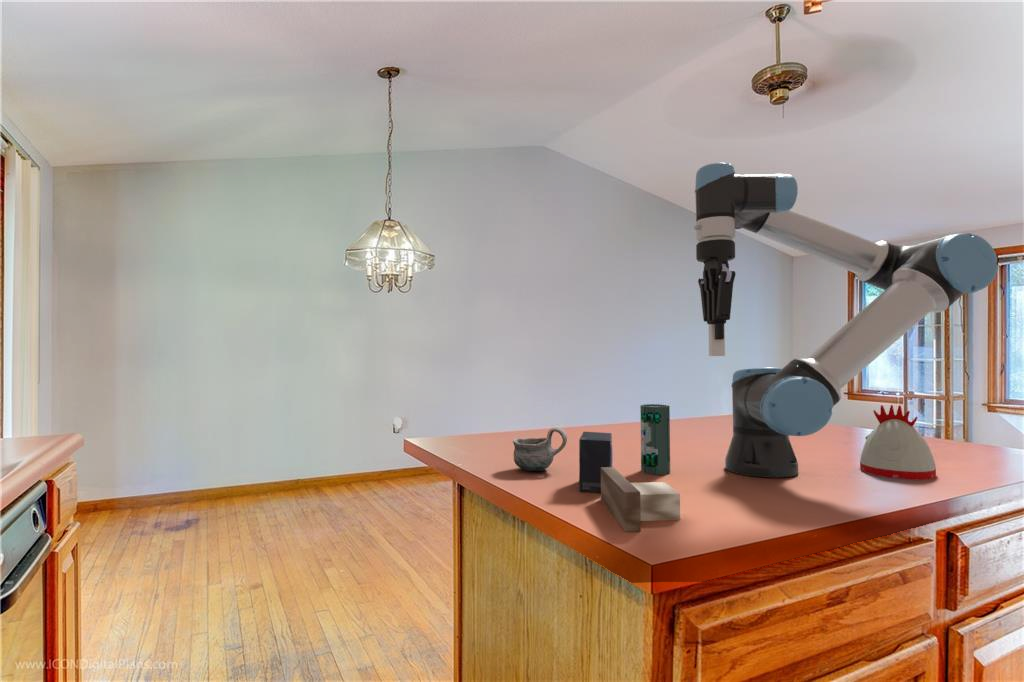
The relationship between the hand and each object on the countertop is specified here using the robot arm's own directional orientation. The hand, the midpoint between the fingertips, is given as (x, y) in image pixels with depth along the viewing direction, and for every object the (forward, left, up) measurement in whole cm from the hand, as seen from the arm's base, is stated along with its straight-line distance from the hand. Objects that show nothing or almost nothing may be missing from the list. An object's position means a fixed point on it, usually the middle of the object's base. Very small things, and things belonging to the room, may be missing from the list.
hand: (716, 355), depth 114 cm
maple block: (+20, +18, -27) cm, 38 cm away
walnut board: (+25, +18, -26) cm, 41 cm away
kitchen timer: (-44, -8, -27) cm, 52 cm away
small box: (+25, -1, -27) cm, 37 cm away
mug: (+35, -17, -27) cm, 47 cm away
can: (+9, -13, -27) cm, 31 cm away
